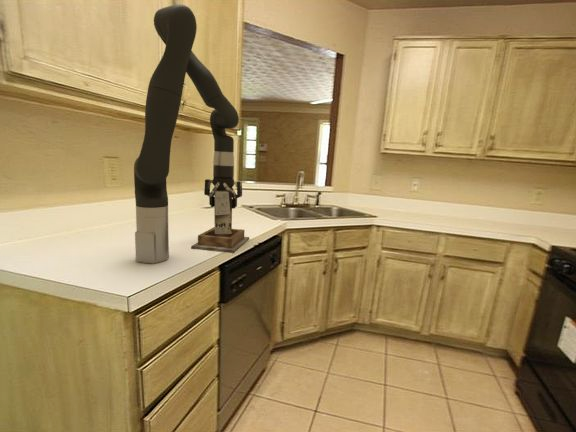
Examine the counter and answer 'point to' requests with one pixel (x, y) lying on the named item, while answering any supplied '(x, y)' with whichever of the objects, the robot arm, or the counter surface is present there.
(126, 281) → the counter surface
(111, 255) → the counter surface
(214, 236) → the socket
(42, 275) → the counter surface
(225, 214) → the coffee box
